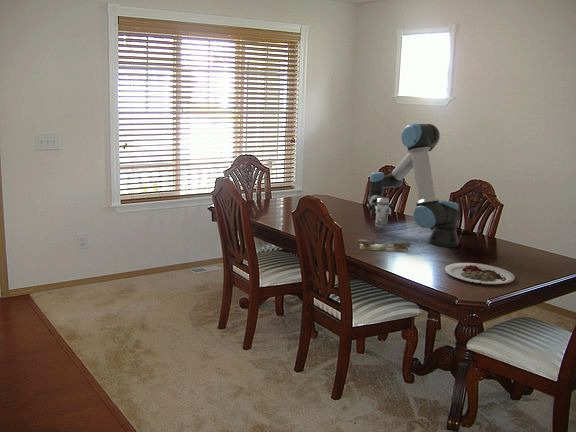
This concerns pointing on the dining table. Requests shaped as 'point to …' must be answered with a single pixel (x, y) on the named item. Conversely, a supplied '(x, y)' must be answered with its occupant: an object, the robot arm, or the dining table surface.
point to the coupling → (382, 212)
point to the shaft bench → (384, 246)
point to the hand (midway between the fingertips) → (383, 211)
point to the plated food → (479, 273)
